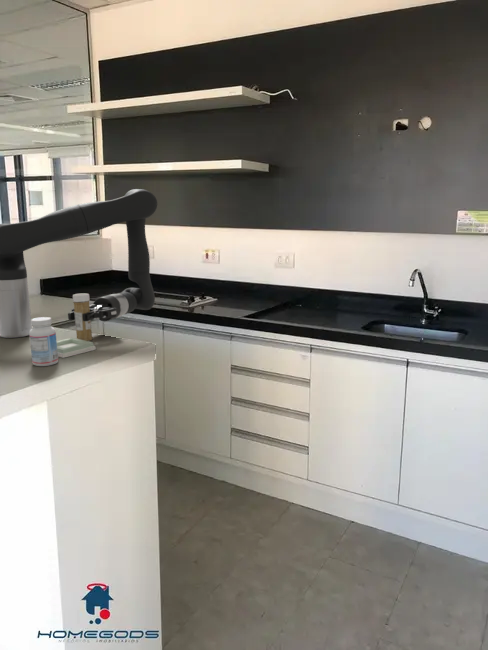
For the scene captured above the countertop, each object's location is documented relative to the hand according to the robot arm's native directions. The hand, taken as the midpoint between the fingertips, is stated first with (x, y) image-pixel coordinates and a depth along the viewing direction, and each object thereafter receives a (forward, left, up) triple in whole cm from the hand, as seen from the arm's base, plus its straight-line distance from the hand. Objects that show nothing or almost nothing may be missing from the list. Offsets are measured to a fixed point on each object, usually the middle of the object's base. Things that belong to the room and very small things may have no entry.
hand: (76, 317), depth 155 cm
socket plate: (+6, -7, -7) cm, 12 cm away
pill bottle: (+12, -18, -7) cm, 23 cm away
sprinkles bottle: (-1, +3, -7) cm, 8 cm away
